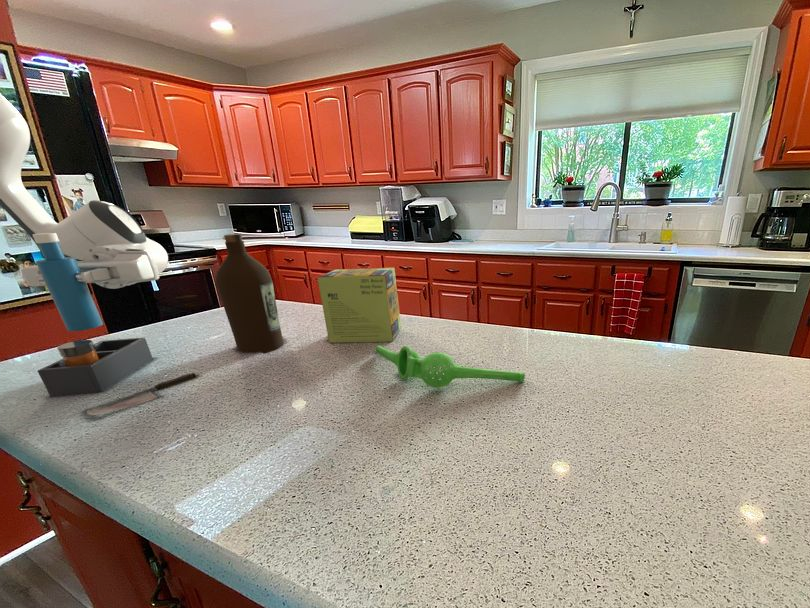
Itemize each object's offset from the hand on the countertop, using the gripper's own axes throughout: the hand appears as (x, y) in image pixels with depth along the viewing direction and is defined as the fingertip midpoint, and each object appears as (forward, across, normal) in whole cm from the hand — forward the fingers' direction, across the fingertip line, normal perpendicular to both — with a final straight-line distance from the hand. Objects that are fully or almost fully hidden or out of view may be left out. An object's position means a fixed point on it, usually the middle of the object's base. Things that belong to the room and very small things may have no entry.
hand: (60, 279), depth 73 cm
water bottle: (-1, 0, +10) cm, 10 cm away
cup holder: (+3, +3, +19) cm, 20 cm away
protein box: (-11, +51, +20) cm, 56 cm away
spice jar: (+7, +3, +18) cm, 20 cm away
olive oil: (-8, +28, +19) cm, 35 cm away
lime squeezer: (+17, +65, +19) cm, 70 cm away
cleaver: (+15, +17, +19) cm, 29 cm away
